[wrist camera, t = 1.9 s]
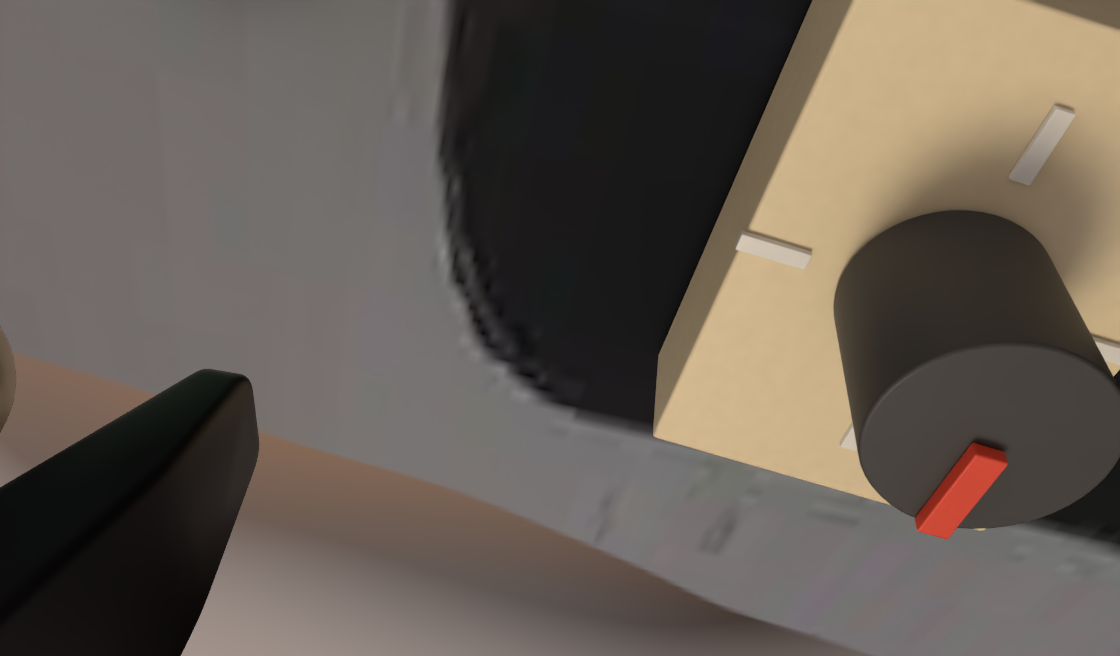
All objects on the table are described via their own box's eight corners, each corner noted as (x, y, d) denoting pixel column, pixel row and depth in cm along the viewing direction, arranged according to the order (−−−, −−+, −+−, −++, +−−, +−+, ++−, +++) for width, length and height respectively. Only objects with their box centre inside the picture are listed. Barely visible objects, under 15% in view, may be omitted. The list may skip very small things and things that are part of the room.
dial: (891, 181, 17) (937, 323, 14) (1100, 245, 17) (1197, 402, 14) (799, 348, 19) (819, 505, 16) (983, 402, 20) (1041, 569, 16)
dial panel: (847, -98, 17) (871, -49, 15) (1265, 38, 18) (1358, 108, 15) (653, 354, 24) (647, 441, 21) (961, 444, 24) (989, 539, 22)
